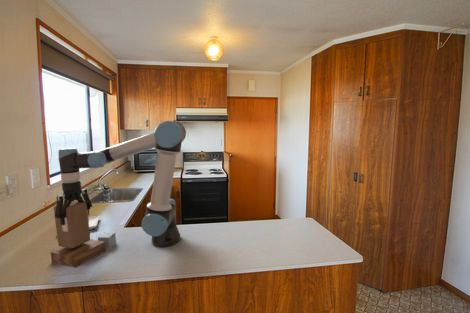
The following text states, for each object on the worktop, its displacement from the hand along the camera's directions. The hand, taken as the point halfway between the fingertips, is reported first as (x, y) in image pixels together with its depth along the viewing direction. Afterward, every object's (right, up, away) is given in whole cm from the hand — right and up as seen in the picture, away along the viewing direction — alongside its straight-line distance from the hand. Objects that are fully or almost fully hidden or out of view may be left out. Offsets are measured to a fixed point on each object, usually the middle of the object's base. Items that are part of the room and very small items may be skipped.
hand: (76, 226), depth 122 cm
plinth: (0, -15, +2) cm, 15 cm away
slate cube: (+9, -14, +12) cm, 20 cm away
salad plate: (-22, -12, +39) cm, 46 cm away
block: (-2, -9, +2) cm, 9 cm away
